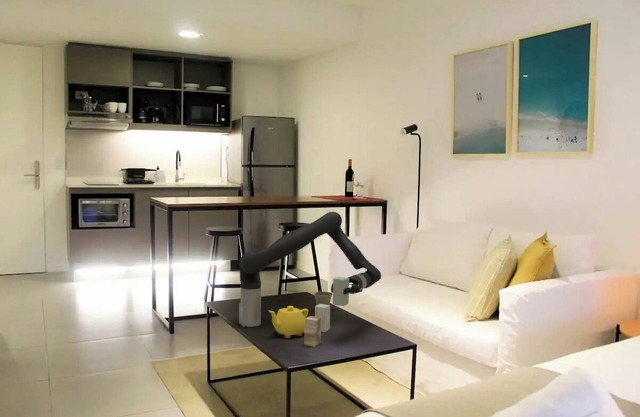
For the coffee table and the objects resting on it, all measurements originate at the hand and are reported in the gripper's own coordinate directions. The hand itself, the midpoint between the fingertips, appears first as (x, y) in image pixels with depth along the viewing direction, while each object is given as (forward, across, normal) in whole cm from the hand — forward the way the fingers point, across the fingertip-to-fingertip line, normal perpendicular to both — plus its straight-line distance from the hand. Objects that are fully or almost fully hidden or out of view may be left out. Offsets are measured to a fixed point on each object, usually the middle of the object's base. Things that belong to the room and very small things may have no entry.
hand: (338, 291), depth 232 cm
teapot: (+1, -23, +22) cm, 32 cm away
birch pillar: (+7, -8, +22) cm, 24 cm away
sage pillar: (-3, 0, +6) cm, 7 cm away
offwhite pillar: (-13, -14, +22) cm, 29 cm away
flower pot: (-42, -29, +22) cm, 56 cm away
